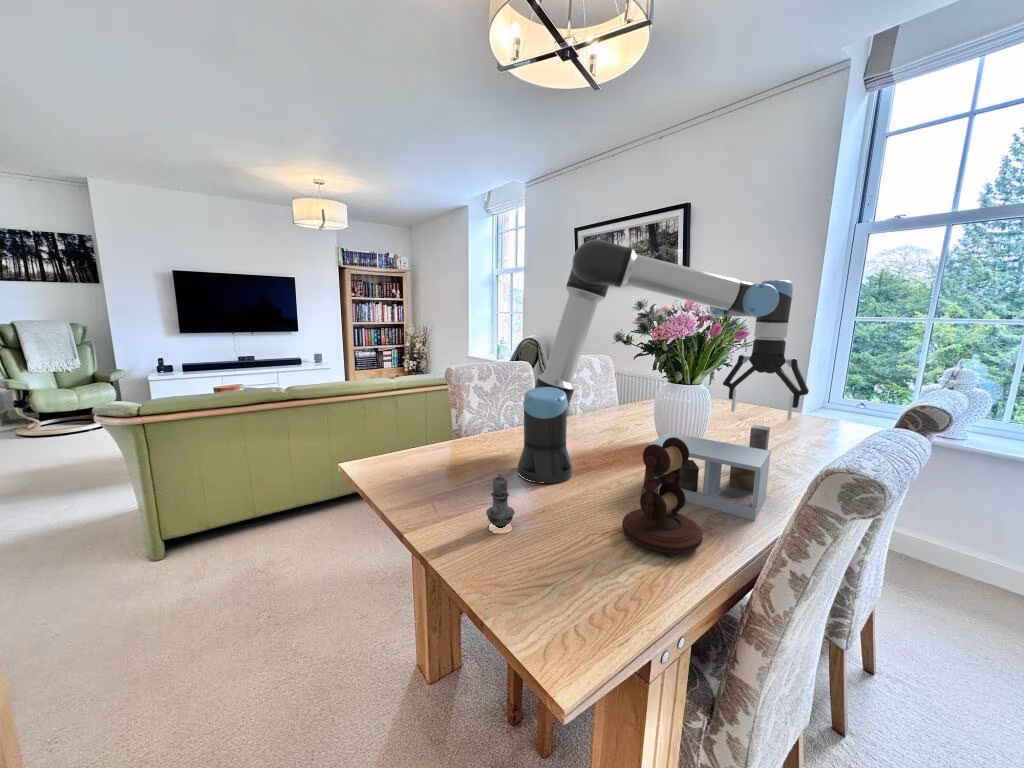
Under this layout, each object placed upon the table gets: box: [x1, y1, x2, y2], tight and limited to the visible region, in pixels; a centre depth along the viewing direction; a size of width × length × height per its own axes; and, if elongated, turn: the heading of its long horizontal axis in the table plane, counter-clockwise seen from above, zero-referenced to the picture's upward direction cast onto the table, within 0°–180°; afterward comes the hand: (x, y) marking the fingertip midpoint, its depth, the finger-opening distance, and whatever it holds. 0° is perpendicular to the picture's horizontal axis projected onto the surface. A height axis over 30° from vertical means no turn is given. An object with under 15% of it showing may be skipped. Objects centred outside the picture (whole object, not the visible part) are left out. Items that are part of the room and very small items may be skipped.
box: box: [668, 459, 700, 493], centre depth 101 cm, size 6×6×7 cm
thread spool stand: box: [622, 437, 703, 559], centre depth 79 cm, size 15×15×20 cm
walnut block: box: [728, 424, 771, 493], centre depth 109 cm, size 6×21×12 cm, turn 140°
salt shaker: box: [485, 473, 515, 528], centre depth 84 cm, size 6×6×12 cm
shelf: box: [647, 432, 772, 522], centre depth 99 cm, size 24×14×12 cm, turn 50°
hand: (760, 414), depth 114 cm, fingers open, 13 cm apart
